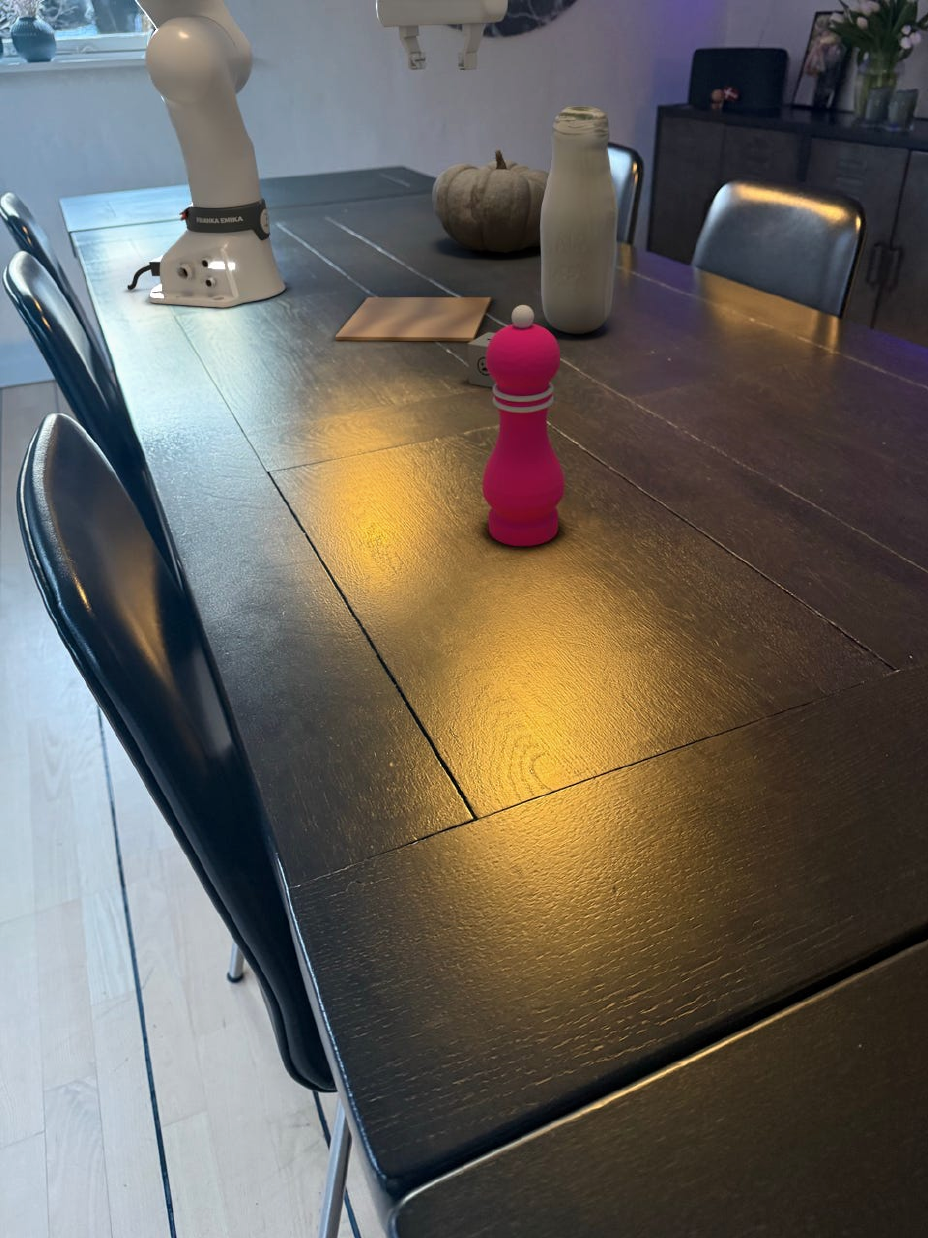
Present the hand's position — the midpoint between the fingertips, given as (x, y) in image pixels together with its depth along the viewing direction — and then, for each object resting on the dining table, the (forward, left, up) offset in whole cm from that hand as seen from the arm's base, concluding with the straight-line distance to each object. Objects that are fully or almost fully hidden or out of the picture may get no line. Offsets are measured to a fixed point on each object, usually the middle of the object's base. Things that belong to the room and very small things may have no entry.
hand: (442, 69), depth 111 cm
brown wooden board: (-7, +6, -33) cm, 34 cm away
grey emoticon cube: (+8, -19, -33) cm, 39 cm away
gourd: (0, +53, -33) cm, 62 cm away
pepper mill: (+15, -57, -33) cm, 67 cm away
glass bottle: (+17, +1, -33) cm, 37 cm away
